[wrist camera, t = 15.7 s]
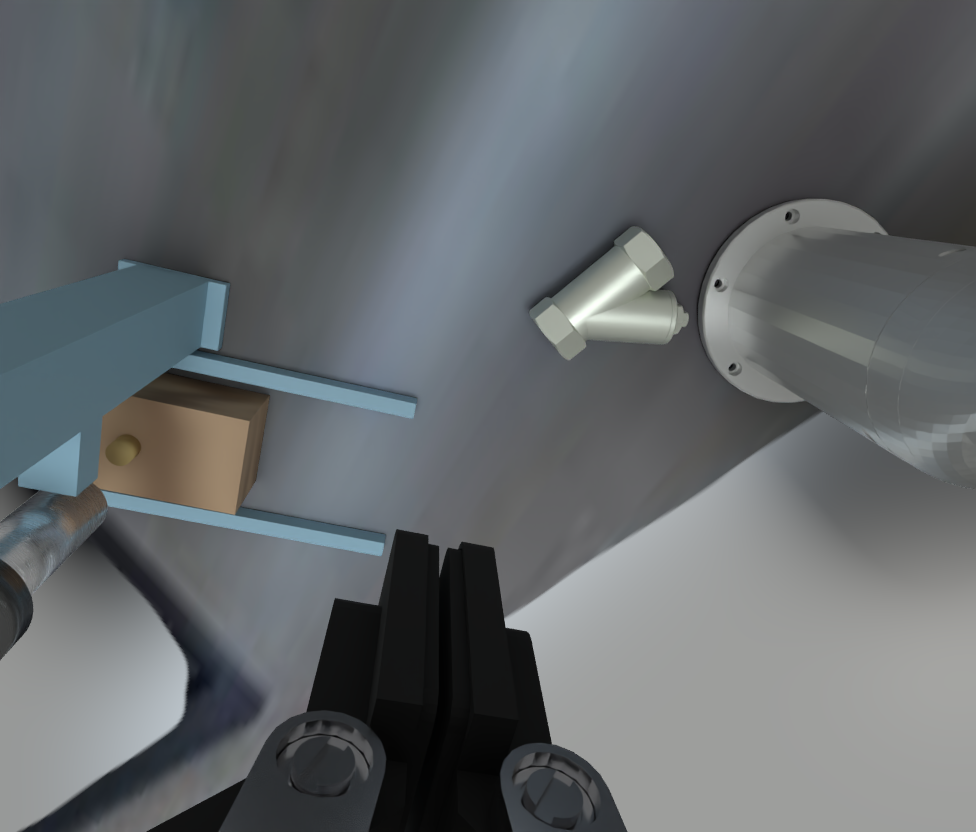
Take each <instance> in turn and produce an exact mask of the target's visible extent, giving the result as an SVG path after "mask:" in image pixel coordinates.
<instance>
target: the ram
mask: <svg viewBox="0 0 976 832" xmlns="http://www.w3.org/2000/svg"><path fill="white" fill-rule="evenodd" d="M107 511H108V505H107V501H106V498H105V496H104V494H103V493H102V491H101V490H100V489H99V488H98V487H97V486H96V485H95V484H93V483H91V484H90V485H89V486H88V487H87V488H86V489H84V490H83V491H82V492H81V493H80V494H79V495H78V496H77V497H75V496H69V495H64V494H58V493H53V492H47V491H42V490H40V491H39V492H37V493H36V494H35V495H34V496H32V497H31V498H30V499H28V500H27V501H26V502H25V503H23V504H22V505H21V506H20V507H18V508H17V509H16V510H14V511H13V512H12V513H11V514H9V515H8V516H7V517H6V518H4V519H3V520H2V521H0V660H1V659H2V657H4V655H5V654H6V653H7V652H8V651H9V650H10V649H11V648H12V647H13V646H14V644H15V643H16V642H17V641H18V640H19V639H20V638H21V637H22V636H23V634H24V633H25V632H26V631H27V629H28V627H29V625H30V623H31V620H32V615H33V602H32V597H31V595H32V594H33V593H34V592H35V591H36V590H37V589H38V588H39V587H40V586H41V585H42V584H43V583H44V582H45V581H46V580H47V579H48V578H49V577H50V576H51V575H52V574H53V573H54V572H55V571H56V570H57V569H58V568H59V567H60V566H61V564H63V563H64V561H65V560H66V559H67V558H68V557H69V556H70V555H71V554H72V553H73V552H74V551H75V550H76V549H77V548H78V547H79V546H80V545H81V544H82V543H83V542H84V541H85V540H86V539H87V538H88V537H89V536H90V535H91V534H92V533H93V532H94V531H95V530H96V529H97V528H98V527H99V526H100V525H101V524H102V523H103V521H104V520H105V518H106V515H107Z"/></svg>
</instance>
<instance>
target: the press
mask: <svg viewBox="0 0 976 832" xmlns="http://www.w3.org/2000/svg"><path fill="white" fill-rule="evenodd" d="M229 289H230V283H226V282H222V281H218V280H213V279H209V278H205V277H201V276H196V275H192V274H188V273H183V272H179V271H175V270H170V269H166V268H162V267H158V266H153V265H149V264H145V263H140V262H136V261H132V260H128V259H122V260H119V264H118V270H117V271H113V272H110V273H106V274H103V275H99V276H96V277H92V278H89V279H86V280H82V281H79V282H75V283H72V284H68V285H65V286H61V287H58V288H54V289H51V290H47V291H44V292H40V293H37V294H33V295H30V296H26V297H23V298H20V299H16V300H13V301H9V302H6V303H2V304H0V489H1V488H2V487H3V486H5V485H6V484H8V483H9V482H10V481H12V480H13V479H15V478H16V477H18V486H21V487H26V488H32V489H37V490H42V491H47V492H53V493H58V494H64V495H69V496H75V497H77V496H78V495H79V494H80V493H81V492H82V491H83V490H84V489H86V488H87V487H88V486H89V485H90V484H91V483H93V482H94V481H95V480H96V479H97V478H98V466H99V454H100V442H101V430H102V417H103V416H104V415H105V414H107V413H108V412H109V411H111V410H112V409H114V408H115V407H117V406H118V405H119V404H121V403H122V402H124V401H125V400H126V399H128V398H129V397H131V396H132V395H133V394H135V393H136V392H138V391H139V390H141V389H142V388H143V387H145V386H146V385H148V384H149V383H150V382H152V381H153V380H155V379H156V378H157V377H159V376H160V375H162V374H163V373H165V372H166V371H167V370H169V369H170V368H177V369H182V370H186V371H191V372H196V373H201V374H205V375H210V376H215V377H219V378H224V379H229V380H233V381H238V382H243V383H247V384H252V385H257V386H261V387H266V388H271V389H275V390H280V391H285V392H289V393H294V394H299V395H304V396H308V397H313V398H318V399H322V400H327V401H332V402H336V403H341V404H346V405H350V406H355V407H360V408H364V409H369V410H374V411H378V412H383V413H388V414H392V415H397V416H402V417H406V418H411V419H413V417H414V412H415V408H416V403H417V398H414V397H409V396H404V395H400V394H395V393H391V392H386V391H382V390H377V389H372V388H368V387H363V386H359V385H354V384H349V383H345V382H340V381H336V380H331V379H327V378H322V377H317V376H313V375H308V374H304V373H299V372H294V371H290V370H285V369H281V368H276V367H272V366H267V365H262V364H258V363H253V362H249V361H244V360H239V359H235V358H230V357H226V356H221V355H217V354H212V353H207V352H203V351H198V350H197V349H198V348H200V347H203V348H207V349H212V350H217V351H218V350H219V349H221V348H222V342H223V334H224V327H225V319H226V312H227V304H228V297H229ZM100 490H101V491H102V493H103V494H104V496H105V498H106V501H107V505H108V506H111V507H116V508H121V509H127V510H132V511H138V512H143V513H149V514H154V515H159V516H165V517H170V518H176V519H181V520H187V521H192V522H198V523H203V524H208V525H214V526H219V527H225V528H230V529H236V530H241V531H247V532H252V533H257V534H263V535H268V536H274V537H279V538H285V539H290V540H295V541H301V542H306V543H312V544H317V545H323V546H328V547H334V548H339V549H344V550H350V551H355V552H361V553H366V554H372V555H377V556H382V552H383V547H384V543H385V536H386V535H385V534H380V533H375V532H370V531H364V530H359V529H354V528H348V527H343V526H338V525H332V524H327V523H322V522H317V521H311V520H306V519H301V518H295V517H290V516H285V515H279V514H274V513H269V512H263V511H258V510H253V509H248V508H242V507H239V509H238V511H237V512H236V514H235V515H233V514H228V513H223V512H218V511H212V510H207V509H202V508H197V507H192V506H186V505H181V504H176V503H171V502H166V501H160V500H155V499H150V498H145V497H139V496H134V495H129V494H124V493H119V492H113V491H108V490H103V489H100Z"/></svg>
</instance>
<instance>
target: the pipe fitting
mask: <svg viewBox="0 0 976 832" xmlns="http://www.w3.org/2000/svg"><path fill="white" fill-rule="evenodd" d="M673 277H674V272H673V268H672V266H671V264H670V262H669V260H668V259H667V257H666V255H665V254H664V253H663V251H662V250H661V249H660V247H659V246H658V245H657V244H656V242H655V241H654V240H653V239H652V238H651V237H650V236H649V235H648V234H647V233H646V232H645V231H644V230H643V229H642V228H640V227H637V226H631V227H630V228H629V229H628V230H627V231H625V232H624V233H623V234H622V235H621V236H619V237H618V238H617V239H616V240H614V247H613V248H612V249H611V250H609V251H608V252H607V253H606V254H605V255H603V256H602V257H601V258H600V259H598V260H597V261H596V262H595V263H594V264H592V265H591V266H590V267H589V268H588V269H586V270H585V271H584V272H583V273H581V274H580V275H579V276H578V277H577V278H575V279H574V280H573V281H572V282H571V283H569V284H568V285H567V286H566V287H564V288H563V289H562V290H561V291H560V292H558V293H557V294H556V295H555V296H553V297H552V298H549V297H545V298H544V299H543V300H542V301H540V302H539V303H538V304H537V305H536V306H534V307H533V308H532V309H531V310H530V311H529V315H530V317H531V318H532V319H533V321H534V322H535V323H536V325H537V326H538V327H539V329H540V330H541V331H542V332H543V334H544V335H545V336H546V337H547V339H548V340H549V341H550V342H551V344H552V345H553V346H554V347H555V348H556V350H557V351H558V352H559V353H560V354H561V356H562V357H563V358H564V359H566V360H571V359H572V358H573V357H574V356H576V355H577V354H578V353H579V352H581V351H582V350H583V349H584V348H586V342H585V341H587V340H598V341H612V342H627V343H643V344H658V345H665V344H667V343H668V342H669V341H670V340H671V338H672V336H673V334H677V333H678V332H679V331H680V329H681V327H686V325H687V323H688V320H689V316H688V313H687V312H685V311H683V307H682V306H681V305H680V304H678V303H677V300H676V297H675V295H674V293H673V292H672V291H670V290H658V289H659V288H661V287H662V286H663V285H664V284H666V283H667V282H668V281H669V280H671V279H672V278H673Z"/></svg>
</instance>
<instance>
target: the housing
mask: <svg viewBox="0 0 976 832" xmlns="http://www.w3.org/2000/svg"><path fill="white" fill-rule="evenodd" d="M269 398H270V395H266V394H261V393H257V392H252V391H247V390H243V389H238V388H234V387H229V386H224V385H220V384H215V383H210V382H206V381H201V380H197V379H192V378H187V377H183V376H178V375H174V374H169V373H163V374H162V375H160V376H159V377H157V378H156V379H155V380H153V381H152V382H150V383H149V384H148V385H146V386H145V387H143V388H142V389H141V390H139V391H138V392H136V393H135V394H133V395H132V396H131V397H129V398H128V399H126V400H125V401H124V402H122V403H121V404H119V405H118V406H117V407H115V408H114V409H112V410H111V411H109V412H108V413H107V414H105V415H104V416H103V417H102V430H101V442H100V454H99V466H98V478H97V479H96V480H95V481H94V482H93V484H95V485H96V486H97V487H98V488H99V489H103V490H108V491H113V492H119V493H124V494H129V495H134V496H139V497H145V498H150V499H155V500H160V501H166V502H171V503H176V504H181V505H186V506H192V507H197V508H202V509H207V510H212V511H218V512H223V513H228V514H233V515H235V514H236V512H237V511H238V509H239V507H240V506H241V504H242V502H243V501H244V499H245V497H246V496H247V494H248V493H249V491H250V489H251V488H252V486H253V484H254V483H255V481H256V477H257V470H258V464H259V458H260V452H261V446H262V440H263V434H264V428H265V422H266V416H267V410H268V404H269Z"/></svg>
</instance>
